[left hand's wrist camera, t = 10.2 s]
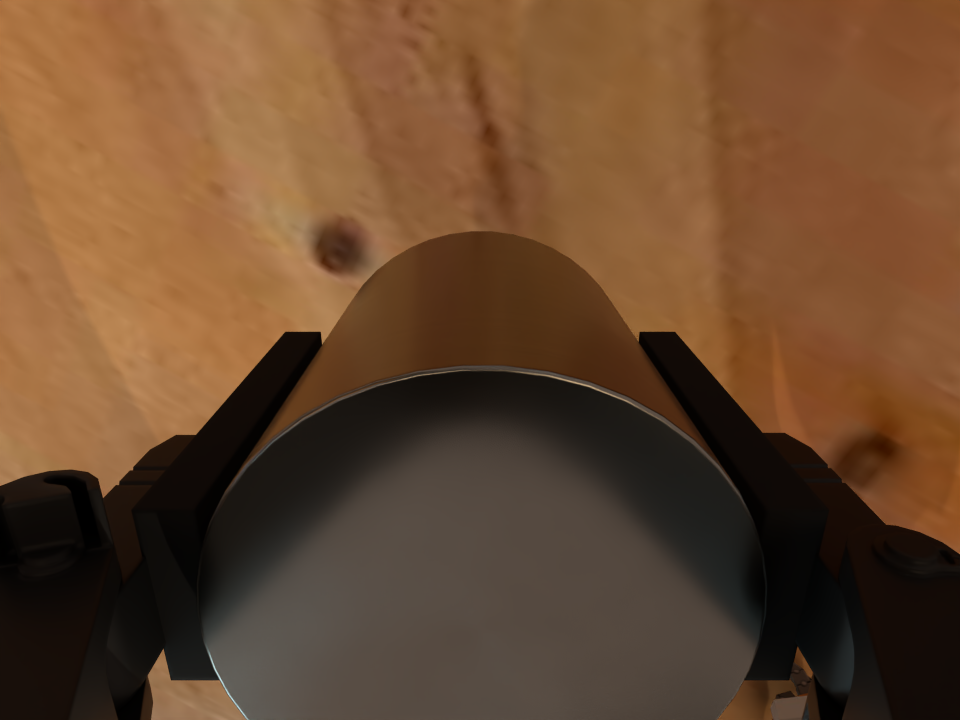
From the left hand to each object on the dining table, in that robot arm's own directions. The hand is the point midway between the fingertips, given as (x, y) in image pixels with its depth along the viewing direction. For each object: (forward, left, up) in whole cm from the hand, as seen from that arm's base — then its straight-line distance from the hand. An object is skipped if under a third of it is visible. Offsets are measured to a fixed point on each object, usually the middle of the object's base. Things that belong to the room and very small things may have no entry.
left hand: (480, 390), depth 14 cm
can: (0, 0, -1) cm, 1 cm away
